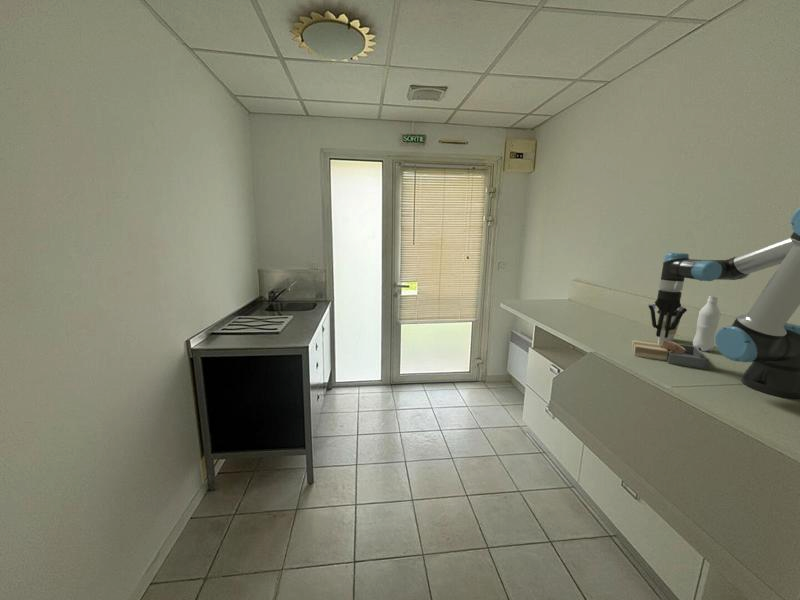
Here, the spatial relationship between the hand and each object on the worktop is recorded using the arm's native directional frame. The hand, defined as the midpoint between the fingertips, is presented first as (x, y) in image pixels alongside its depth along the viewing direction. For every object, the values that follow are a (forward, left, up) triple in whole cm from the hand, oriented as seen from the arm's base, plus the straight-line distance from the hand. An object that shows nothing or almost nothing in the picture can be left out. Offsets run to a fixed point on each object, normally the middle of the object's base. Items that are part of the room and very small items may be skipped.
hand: (660, 344), depth 141 cm
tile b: (0, -5, -2) cm, 5 cm away
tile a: (0, -3, -1) cm, 3 cm away
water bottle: (+20, -19, -5) cm, 28 cm away
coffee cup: (+30, -7, -5) cm, 31 cm away
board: (0, +4, -5) cm, 6 cm away
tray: (0, -8, -5) cm, 9 cm away
